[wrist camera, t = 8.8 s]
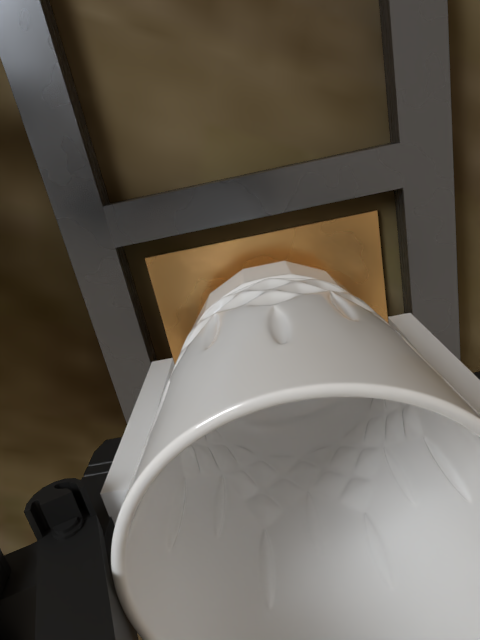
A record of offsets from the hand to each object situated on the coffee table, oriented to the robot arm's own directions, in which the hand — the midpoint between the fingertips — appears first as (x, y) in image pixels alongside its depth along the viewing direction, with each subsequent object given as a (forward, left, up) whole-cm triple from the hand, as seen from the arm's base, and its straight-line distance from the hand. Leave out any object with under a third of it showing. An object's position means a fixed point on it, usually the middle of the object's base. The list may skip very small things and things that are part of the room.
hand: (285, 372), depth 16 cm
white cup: (0, 0, -2) cm, 2 cm away
